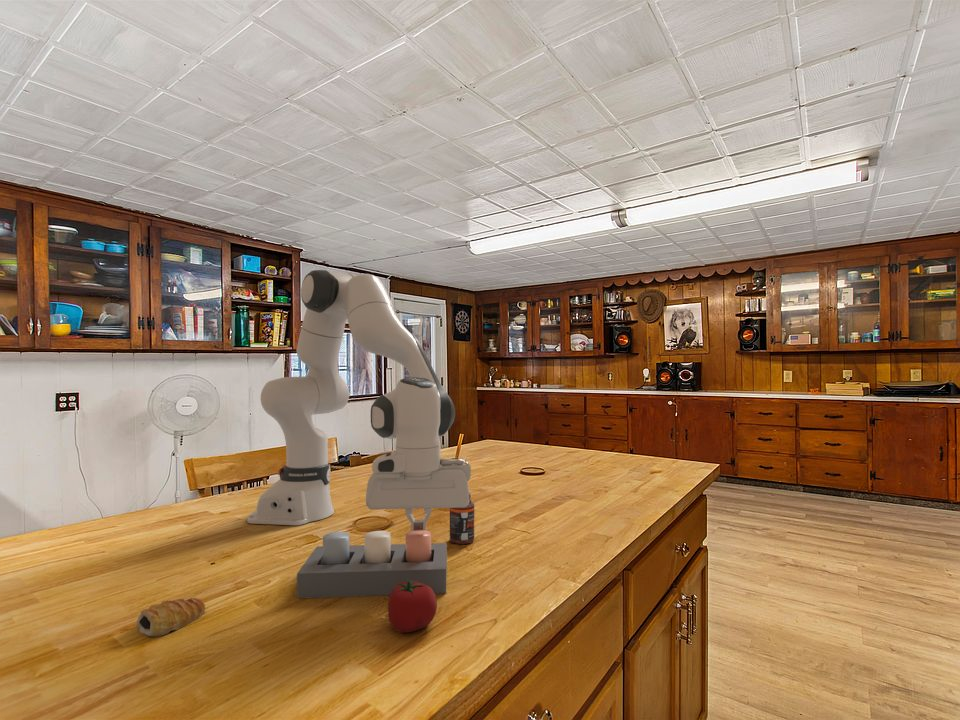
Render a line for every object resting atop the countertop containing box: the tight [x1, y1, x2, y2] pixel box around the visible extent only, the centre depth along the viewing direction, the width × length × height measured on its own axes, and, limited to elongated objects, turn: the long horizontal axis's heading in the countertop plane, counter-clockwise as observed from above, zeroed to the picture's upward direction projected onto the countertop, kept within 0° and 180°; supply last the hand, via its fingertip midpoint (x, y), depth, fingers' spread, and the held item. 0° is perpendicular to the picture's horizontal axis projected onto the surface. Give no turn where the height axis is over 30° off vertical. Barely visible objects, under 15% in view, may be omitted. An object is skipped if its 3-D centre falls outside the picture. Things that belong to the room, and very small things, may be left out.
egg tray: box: [296, 542, 448, 599], centre depth 95 cm, size 27×13×4 cm, turn 93°
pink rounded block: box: [405, 529, 432, 562], centre depth 96 cm, size 5×5×6 cm
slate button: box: [322, 531, 350, 565], centre depth 95 cm, size 5×5×6 cm
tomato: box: [387, 581, 438, 634], centre depth 79 cm, size 8×8×7 cm
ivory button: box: [363, 530, 391, 564], centre depth 95 cm, size 5×5×6 cm
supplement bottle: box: [449, 492, 475, 545], centre depth 116 cm, size 6×6×11 cm
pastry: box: [136, 597, 206, 637], centre depth 80 cm, size 9×7×4 cm
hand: (418, 530), depth 96 cm, fingers closed
